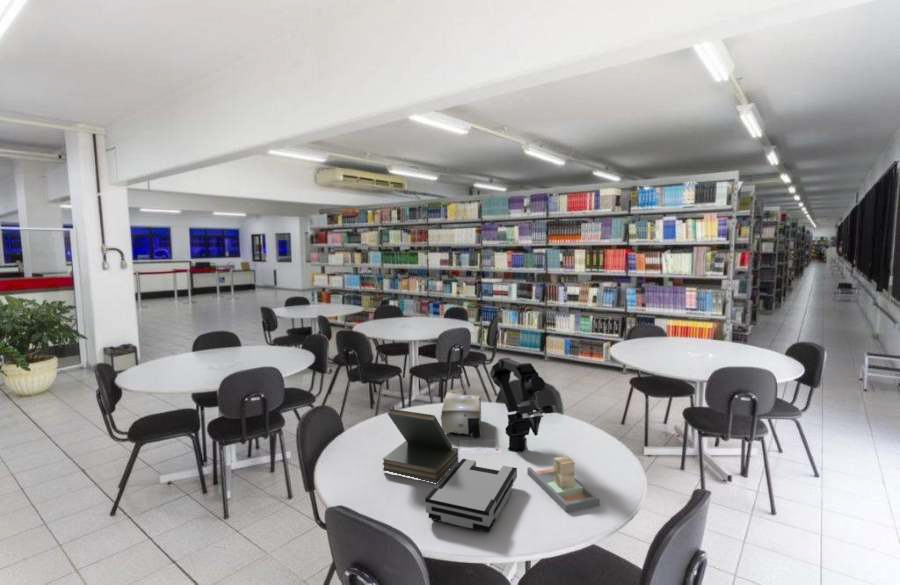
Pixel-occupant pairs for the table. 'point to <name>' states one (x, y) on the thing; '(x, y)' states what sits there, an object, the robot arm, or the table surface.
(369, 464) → the table surface
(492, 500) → the game console
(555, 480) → the block
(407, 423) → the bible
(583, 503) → the box
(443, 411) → the projector
